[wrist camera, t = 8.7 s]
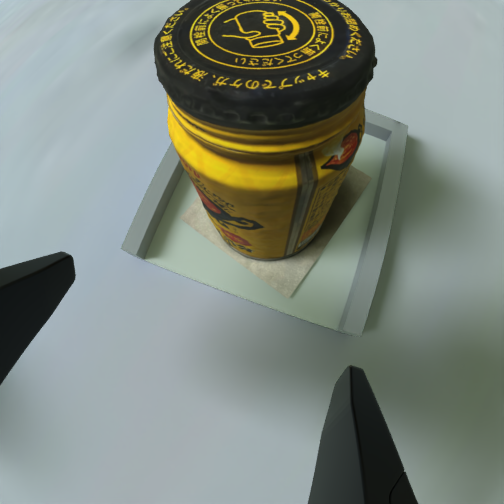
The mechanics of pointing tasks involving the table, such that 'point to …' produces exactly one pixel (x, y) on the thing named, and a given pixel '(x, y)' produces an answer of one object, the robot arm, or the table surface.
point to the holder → (324, 268)
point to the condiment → (268, 124)
